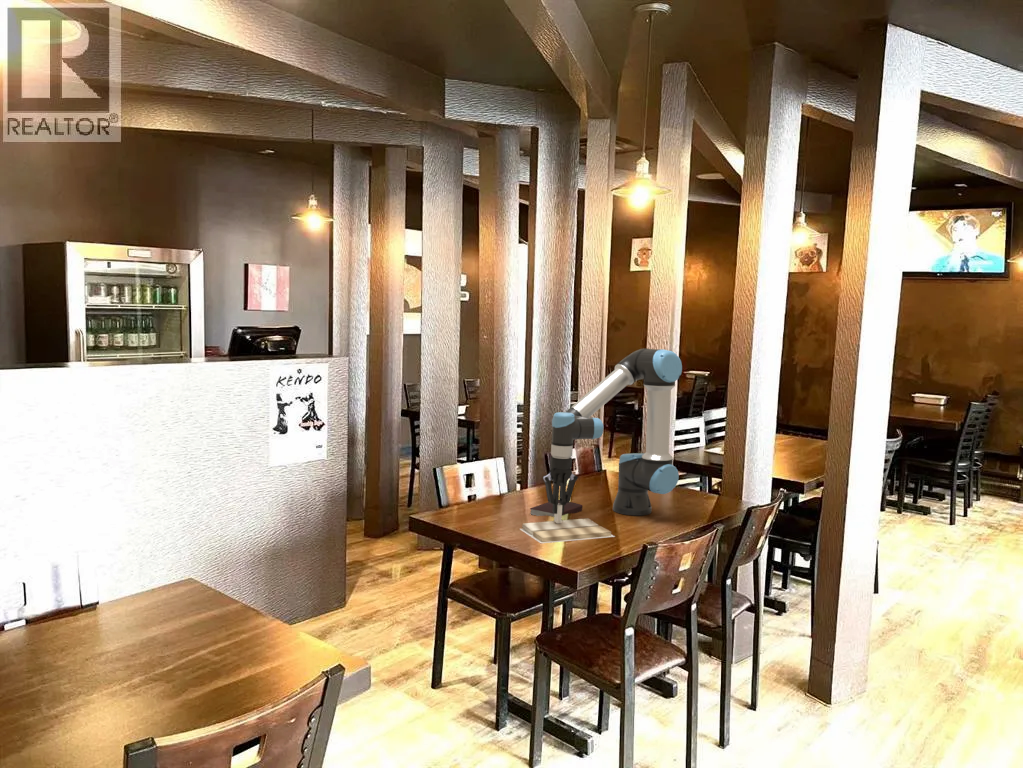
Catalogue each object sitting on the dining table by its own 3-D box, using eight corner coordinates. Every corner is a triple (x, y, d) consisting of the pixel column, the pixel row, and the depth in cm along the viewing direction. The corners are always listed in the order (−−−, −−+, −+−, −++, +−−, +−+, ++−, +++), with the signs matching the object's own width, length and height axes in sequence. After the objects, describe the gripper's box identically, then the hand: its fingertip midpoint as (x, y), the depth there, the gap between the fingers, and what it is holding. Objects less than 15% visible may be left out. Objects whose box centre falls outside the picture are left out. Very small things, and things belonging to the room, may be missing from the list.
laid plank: (600, 530, 265) (600, 526, 265) (611, 536, 258) (611, 531, 258) (533, 536, 255) (533, 531, 255) (542, 542, 248) (542, 537, 248)
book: (582, 512, 297) (583, 503, 297) (556, 521, 281) (556, 512, 281) (555, 506, 304) (556, 498, 304) (528, 515, 288) (529, 507, 288)
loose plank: (587, 522, 274) (588, 518, 274) (598, 529, 266) (598, 525, 266) (522, 527, 264) (522, 523, 264) (531, 534, 256) (531, 530, 256)
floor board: (589, 525, 274) (590, 523, 274) (614, 539, 258) (615, 536, 258) (519, 531, 264) (519, 528, 264) (540, 546, 247) (540, 543, 247)
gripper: (573, 454, 270) (569, 518, 272) (539, 455, 265) (536, 520, 267) (583, 458, 263) (579, 524, 265) (548, 459, 258) (545, 526, 260)
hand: (557, 522), depth 266 cm, fingers closed
